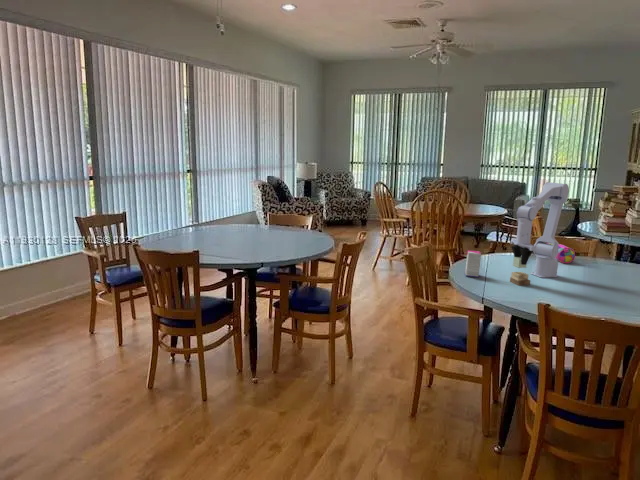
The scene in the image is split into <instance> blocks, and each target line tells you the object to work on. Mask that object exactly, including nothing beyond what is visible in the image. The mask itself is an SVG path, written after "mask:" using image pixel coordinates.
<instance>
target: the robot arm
mask: <svg viewBox="0 0 640 480" xmlns="http://www.w3.org/2000/svg"><path fill="white" fill-rule="evenodd" d="M569 192H570V188H569V184H567V183H560V182H559V183H558V182H550V181H546V182H545V183H544V184H543V186H542V190H541V192H539V194H538V195H537V196H533V197H532V198H531V199H530V200H528V202H527V203H525V204H524V205H520V206H519V207H518V208H517V210H516V220H517V221H516V222H517V230H516V231H517V232H516V238H515V239H511V240H510V245H511V246H510V247H511V250H512V253H513V258H514V257H521V264H522V265H526V264H527V265H528V261H529V259H530V257H531V255H532V254H534V255H535V257H536V258H535V259H536V260H535V266H534V271H533V272H530V274H531V275H534V276H535V277H539V278H541V279H542V278H558V277H559V276H558V269H559V261H558V260H557V259H556V258H555V257H556V256H557V255H558V251H559V249H558V248H559V244H560V243H559V241H558V240H557V239H556V238H555V236H556V233H557V228H558V224H559V221H560V217H561V213H562V210H563V206H564V204H565V203H567V200H568V197H569ZM546 201H548V202H550V207H549V211H548V214H547V219H546V222H545V226H544V230H543V233H542V236H540V237H538V238H536V240H535V243H534V244H532V243H531V236H532V228H533V220H535V218H536V217H537V214H538V213H539V212H538V211H540V210H541V209H542V208H543V206H544V203H545V202H546ZM547 243H550V244H547ZM551 244H552V245H551ZM527 265H526V266H527Z"/></svg>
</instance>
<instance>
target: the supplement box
mask: <svg viewBox="0 0 640 480" xmlns="http://www.w3.org/2000/svg"><path fill="white" fill-rule="evenodd" d="M466 253H467V254H466V260H465V261H466V263H465V267H464V268H465V269H464V270H465V271H464V275H465V278H466V277H467V278H477V279H478V278H479V275H480V267H481V257H482V253H481V251H477V250H467V251H466Z"/></svg>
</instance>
